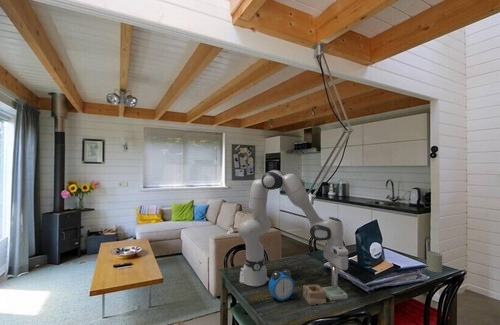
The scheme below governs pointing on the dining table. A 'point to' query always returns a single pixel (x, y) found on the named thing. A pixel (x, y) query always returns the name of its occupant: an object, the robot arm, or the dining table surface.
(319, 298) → the block
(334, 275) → the pin
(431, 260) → the can
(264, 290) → the dining table surface
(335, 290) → the tray
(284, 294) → the alarm clock
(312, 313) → the dining table surface
